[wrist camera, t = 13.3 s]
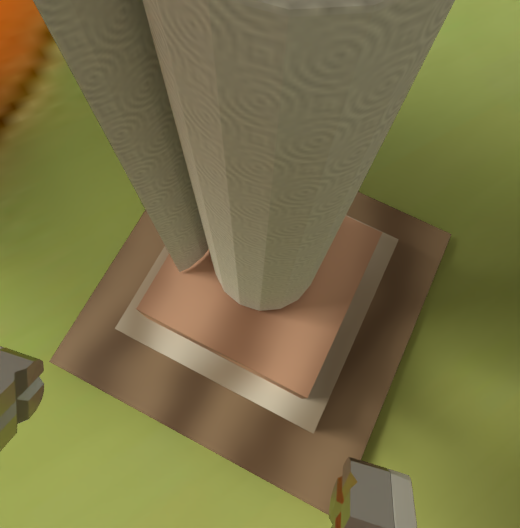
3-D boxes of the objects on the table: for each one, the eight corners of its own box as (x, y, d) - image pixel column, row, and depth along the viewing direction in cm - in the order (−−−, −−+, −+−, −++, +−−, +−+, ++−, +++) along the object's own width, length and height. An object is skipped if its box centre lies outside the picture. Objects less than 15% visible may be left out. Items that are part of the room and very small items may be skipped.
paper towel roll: (332, 244, 28) (562, -203, 7) (285, 331, 26) (415, 67, 6) (229, 192, 29) (178, -338, 8) (179, 272, 27) (-45, -138, 7)
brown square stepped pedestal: (55, 362, 33) (0, 351, 25) (203, 127, 39) (192, 64, 31) (333, 515, 30) (360, 550, 23) (446, 238, 36) (494, 197, 29)
